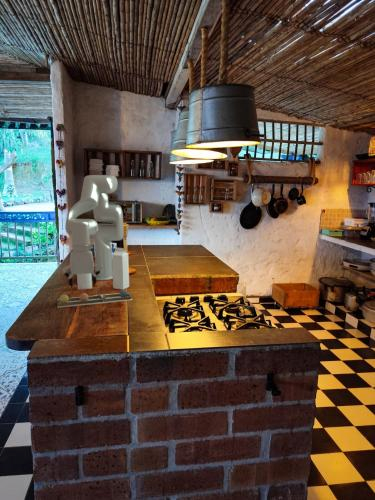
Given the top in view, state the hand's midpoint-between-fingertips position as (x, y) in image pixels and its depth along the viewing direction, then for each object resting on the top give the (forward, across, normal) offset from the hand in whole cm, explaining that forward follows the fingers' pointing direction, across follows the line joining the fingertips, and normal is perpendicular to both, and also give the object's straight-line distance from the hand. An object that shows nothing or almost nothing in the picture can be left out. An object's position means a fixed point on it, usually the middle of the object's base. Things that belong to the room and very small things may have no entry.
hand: (82, 285), depth 159 cm
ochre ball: (+6, +8, -1) cm, 10 cm away
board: (+9, -5, -2) cm, 10 cm away
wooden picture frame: (+8, +1, -1) cm, 8 cm away
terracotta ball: (+6, 0, -1) cm, 6 cm away
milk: (+8, -20, -18) cm, 28 cm away
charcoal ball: (+6, -18, -1) cm, 19 cm away
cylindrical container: (+8, -2, -24) cm, 26 cm away
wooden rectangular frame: (+7, -15, -1) cm, 17 cm away
